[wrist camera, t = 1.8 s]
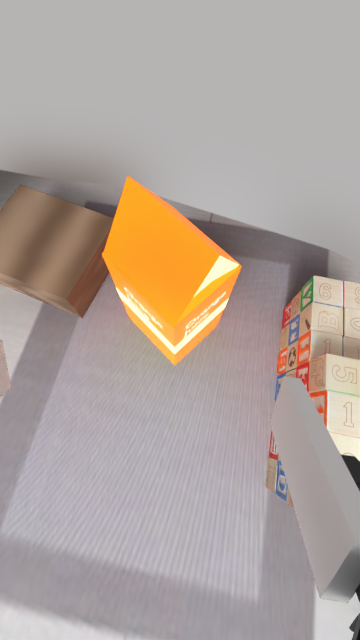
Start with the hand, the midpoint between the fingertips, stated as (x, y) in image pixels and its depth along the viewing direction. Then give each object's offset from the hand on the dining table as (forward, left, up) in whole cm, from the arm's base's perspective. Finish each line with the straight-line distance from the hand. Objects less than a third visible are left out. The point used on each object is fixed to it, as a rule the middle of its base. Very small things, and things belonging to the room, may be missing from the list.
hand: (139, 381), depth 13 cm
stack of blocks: (+15, +8, -21) cm, 27 cm away
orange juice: (-3, +10, -21) cm, 24 cm away
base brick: (-21, +12, -21) cm, 32 cm away
